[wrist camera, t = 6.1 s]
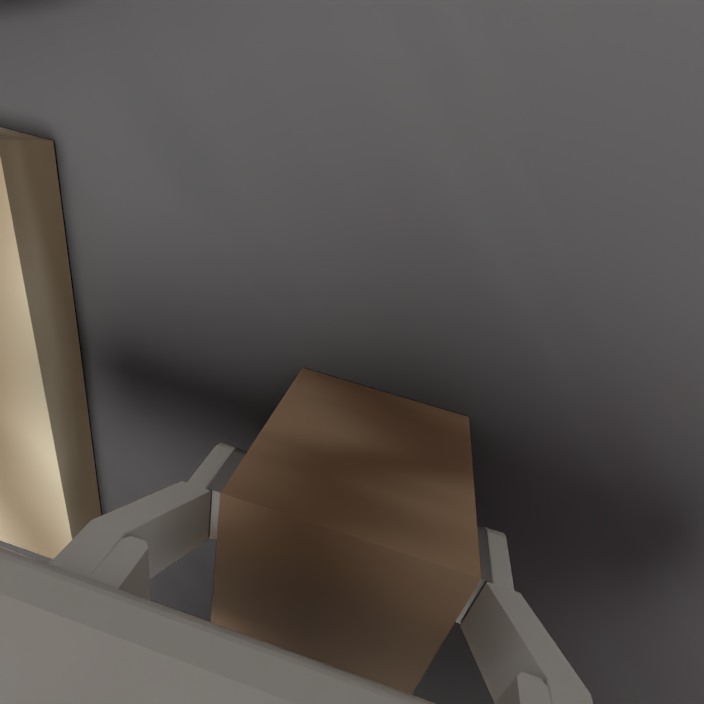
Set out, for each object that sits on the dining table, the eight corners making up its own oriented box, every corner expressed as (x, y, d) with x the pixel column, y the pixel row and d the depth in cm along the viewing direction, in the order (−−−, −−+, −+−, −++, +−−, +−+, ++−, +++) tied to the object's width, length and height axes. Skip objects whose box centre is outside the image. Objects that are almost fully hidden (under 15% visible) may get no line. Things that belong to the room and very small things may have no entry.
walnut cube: (469, 416, 12) (481, 579, 7) (419, 530, 14) (406, 704, 10) (302, 367, 12) (219, 493, 8) (281, 486, 15) (209, 633, 10)
